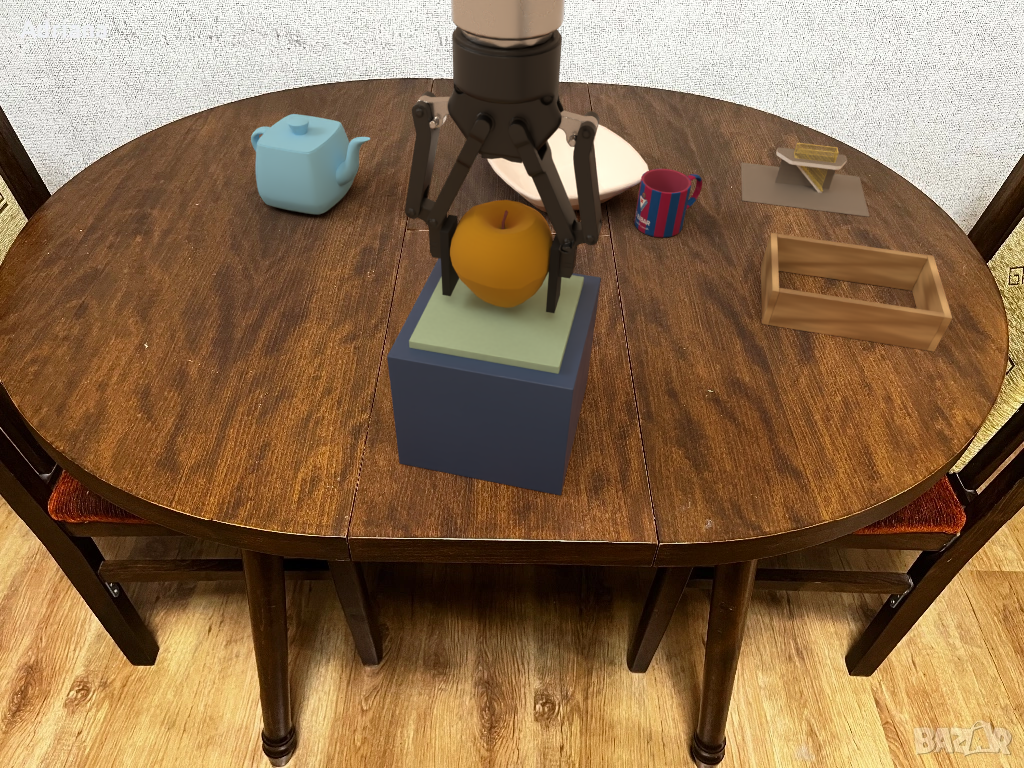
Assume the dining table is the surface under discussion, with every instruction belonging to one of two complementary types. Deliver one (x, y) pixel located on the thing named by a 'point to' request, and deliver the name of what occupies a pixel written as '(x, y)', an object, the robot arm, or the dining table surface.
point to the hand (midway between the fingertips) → (501, 294)
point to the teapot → (305, 163)
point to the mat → (499, 327)
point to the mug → (664, 201)
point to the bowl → (613, 163)
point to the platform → (805, 182)
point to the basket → (851, 314)
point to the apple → (502, 251)
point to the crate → (490, 405)
